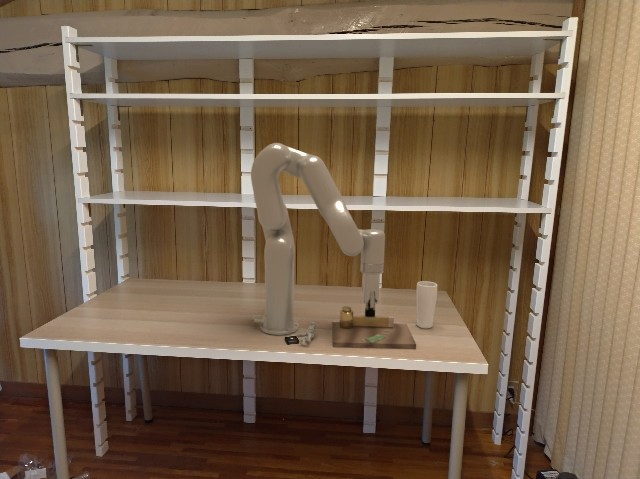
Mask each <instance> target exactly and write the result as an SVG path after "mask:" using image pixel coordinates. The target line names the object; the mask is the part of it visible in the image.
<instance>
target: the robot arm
mask: <svg viewBox="0 0 640 479" xmlns="http://www.w3.org/2000/svg"><path fill="white" fill-rule="evenodd" d="M280 173H285V174H287V175H290V176H293V177H296V178H299V179H301V180H302V182H303V184H304V186H305V188H306V189H307V192H308V193H309V195H310V197H311V199H312V200H313V202H314V204H315V206H316V207H317V210H318V211H319V214H320V216H322V218H323V219H324V221H325V222H326V224H327V225H328V227H329V229H330V231H331V233H332V234H333V236H334V239H335V240H336V242H337V244H338V246H339V248H340V249H341V251H342V253H343V254H345V255H346V256H349V257H356V256H358V255H359V254H360V268H359V271H360V273H362V278H361V279H362V280H361V294H360V296H361V299H362V302H363V304H365V308H364V316H376V305H377V304H378V303H379V301H380V300H379V297H380V285H381V284H380V283H381V282H380V280H381V279H380V278H381V277H380V276H381V274H384V264H385V243H386V242H385V241H386V234H385V232H384V231H383V230H381V229H375V228H373V229H372V228H369V229H359V228H358V226H357V224H356V223H355V221H354V220H353V219H354V218H353V217H352V215H351V213H350V211H349V210H348V209H349V208H348V207H347V205H346V203H345V200H344V197H342V194H341V192H340V191H339V189H338V187H337V185H336V183H335V181H334V179H333V177H332V175H331V173H330V171H329V170H328V167H327V166H326V164H325V162H324V160H322V159H321V157H319V156H317V155H313V154H310V153H307V152H303V151H301V150H298V149H295V148H293V147H290V146H287V145H285V144H283V143H280V142H273V143H271V144H268V145H267V146H265V147H264V148H263V149H261V151H260V152H258V154H257V155H256V157H255V158H254V160H253V162H252V165H251V169H250V180H251V186H252V187H251V188H252V191H253V197H254V203H255V207H256V211H257V218H258V222H259V224H260V225H261V227H262V231H263V236H264V239H265V245H264V250H263V251H264V252H263V253H264V254H263V257H264V258H263V259H264V313H263V314H261V315H259V314H252V315H251V321H252V322H254V323H255V324H260V325H259V328H260V331H262V333H265V334H269V335H275V336H283V335H291V334H293V333H296V332H297V331H298V330H299V323H298V322H297V321H295V264H296V263H295V260H296V259H295V258H296V255H295V254H296V246H295V238H294V235H293V229H292V226H291V225H292V224H291V221H290V216H289V211H288V208H287V206H286V204H285V202H284V199H283V195H282V190H281V185H280V179H279V178H280V177H279V176H280Z"/></svg>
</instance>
